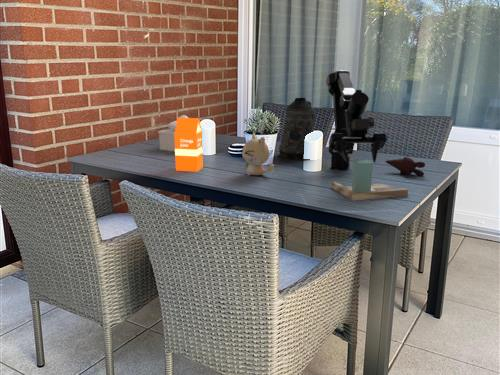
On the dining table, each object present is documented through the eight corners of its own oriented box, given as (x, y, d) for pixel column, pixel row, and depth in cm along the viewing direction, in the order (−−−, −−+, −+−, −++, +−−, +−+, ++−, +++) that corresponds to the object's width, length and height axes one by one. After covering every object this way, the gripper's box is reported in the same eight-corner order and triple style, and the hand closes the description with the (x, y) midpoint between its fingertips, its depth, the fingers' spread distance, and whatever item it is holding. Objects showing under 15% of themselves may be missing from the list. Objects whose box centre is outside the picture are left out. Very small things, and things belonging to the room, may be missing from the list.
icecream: (382, 157, 188) (422, 165, 180) (389, 149, 193) (428, 157, 185) (381, 173, 191) (420, 182, 184) (388, 165, 196) (426, 173, 189)
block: (351, 188, 168) (353, 159, 165) (366, 188, 168) (368, 159, 165) (355, 192, 163) (357, 162, 160) (370, 192, 163) (372, 162, 160)
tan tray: (331, 189, 169) (332, 181, 168) (382, 184, 174) (383, 177, 173) (352, 201, 155) (353, 194, 154) (407, 196, 160) (408, 189, 159)
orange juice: (197, 171, 192) (195, 119, 186) (175, 170, 193) (173, 118, 188) (203, 167, 199) (202, 116, 193) (182, 165, 201) (180, 116, 195)
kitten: (235, 170, 193) (235, 132, 189) (259, 168, 196) (260, 131, 192) (249, 180, 179) (249, 139, 175) (275, 177, 183) (275, 137, 179)
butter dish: (211, 147, 237) (211, 114, 233) (187, 154, 223) (186, 118, 218) (183, 143, 246) (182, 111, 242) (158, 150, 232) (156, 115, 227)
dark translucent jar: (277, 159, 213) (278, 100, 206) (280, 150, 231) (281, 95, 224) (316, 160, 211) (318, 100, 204) (316, 151, 229) (318, 96, 222)
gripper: (332, 109, 165) (337, 148, 158) (387, 108, 166) (395, 147, 158) (326, 129, 175) (331, 166, 167) (379, 128, 176) (386, 166, 168)
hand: (361, 161), depth 165 cm, fingers open, 9 cm apart
